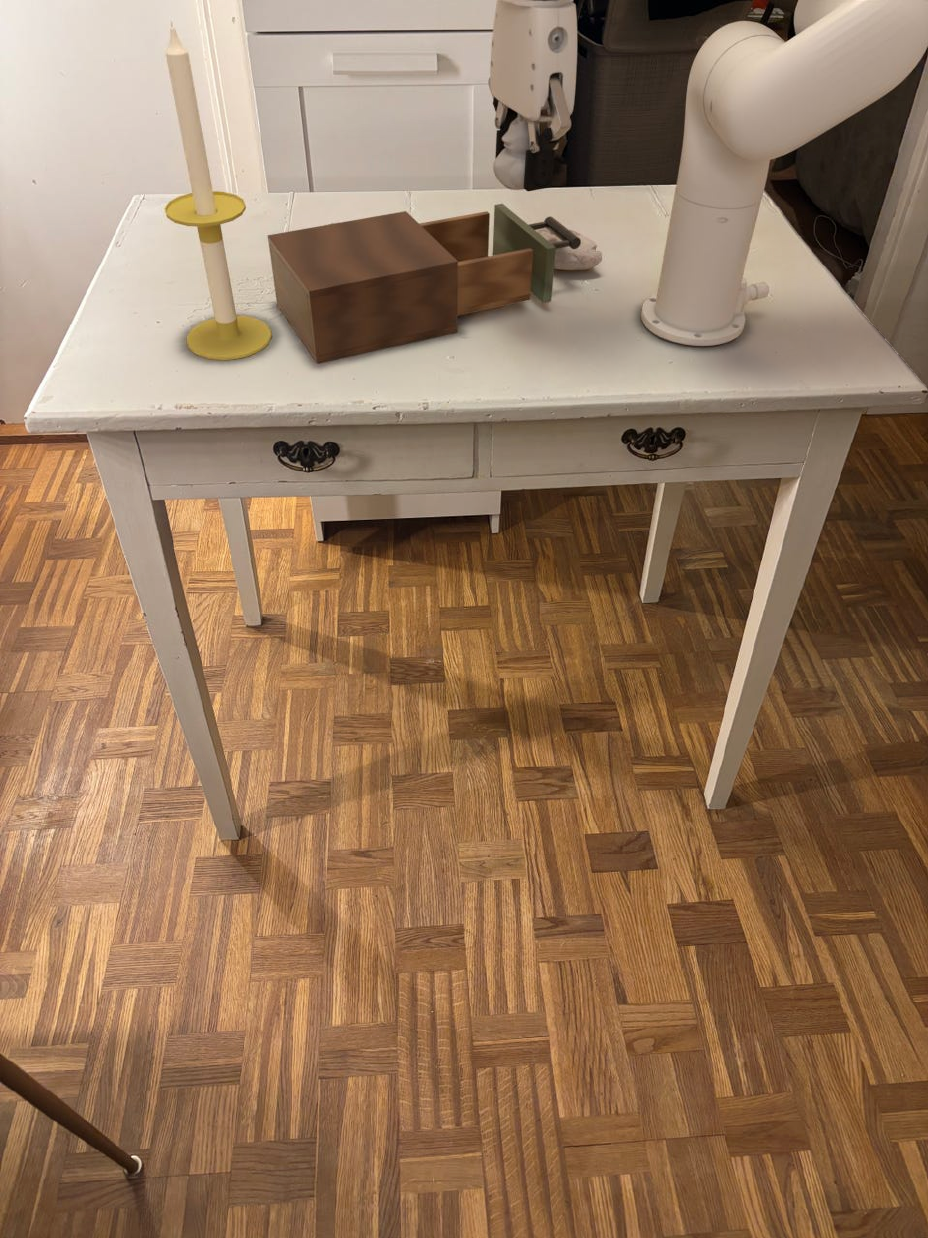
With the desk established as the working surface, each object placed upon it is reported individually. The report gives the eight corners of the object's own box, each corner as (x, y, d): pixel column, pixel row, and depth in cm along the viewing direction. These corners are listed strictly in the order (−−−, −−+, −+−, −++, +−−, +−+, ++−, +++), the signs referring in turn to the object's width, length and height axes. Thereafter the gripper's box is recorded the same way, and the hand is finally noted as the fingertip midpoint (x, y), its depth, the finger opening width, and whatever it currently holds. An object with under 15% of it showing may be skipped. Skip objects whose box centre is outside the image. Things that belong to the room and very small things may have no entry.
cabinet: (408, 278, 121) (406, 210, 115) (457, 332, 112) (458, 261, 105) (276, 304, 116) (267, 234, 109) (317, 363, 106) (309, 290, 100)
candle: (175, 329, 111) (103, 14, 88) (254, 310, 115) (205, 2, 91) (202, 368, 105) (132, 40, 82) (284, 346, 109) (240, 27, 85)
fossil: (507, 220, 125) (570, 212, 128) (504, 252, 127) (567, 243, 131) (552, 251, 117) (618, 241, 120) (548, 284, 119) (613, 273, 123)
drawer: (537, 248, 126) (541, 196, 121) (591, 292, 117) (597, 238, 112) (385, 278, 119) (382, 224, 114) (429, 328, 110) (429, 272, 105)
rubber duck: (487, 179, 102) (490, 100, 97) (544, 175, 104) (550, 97, 98) (499, 198, 99) (503, 117, 93) (558, 194, 100) (565, 114, 94)
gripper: (619, -3, 84) (594, 201, 97) (525, -43, 94) (514, 146, 107) (548, 4, 81) (532, 213, 94) (459, -37, 92) (456, 156, 105)
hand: (522, 176), depth 100 cm, fingers closed on rubber duck, 5 cm apart
